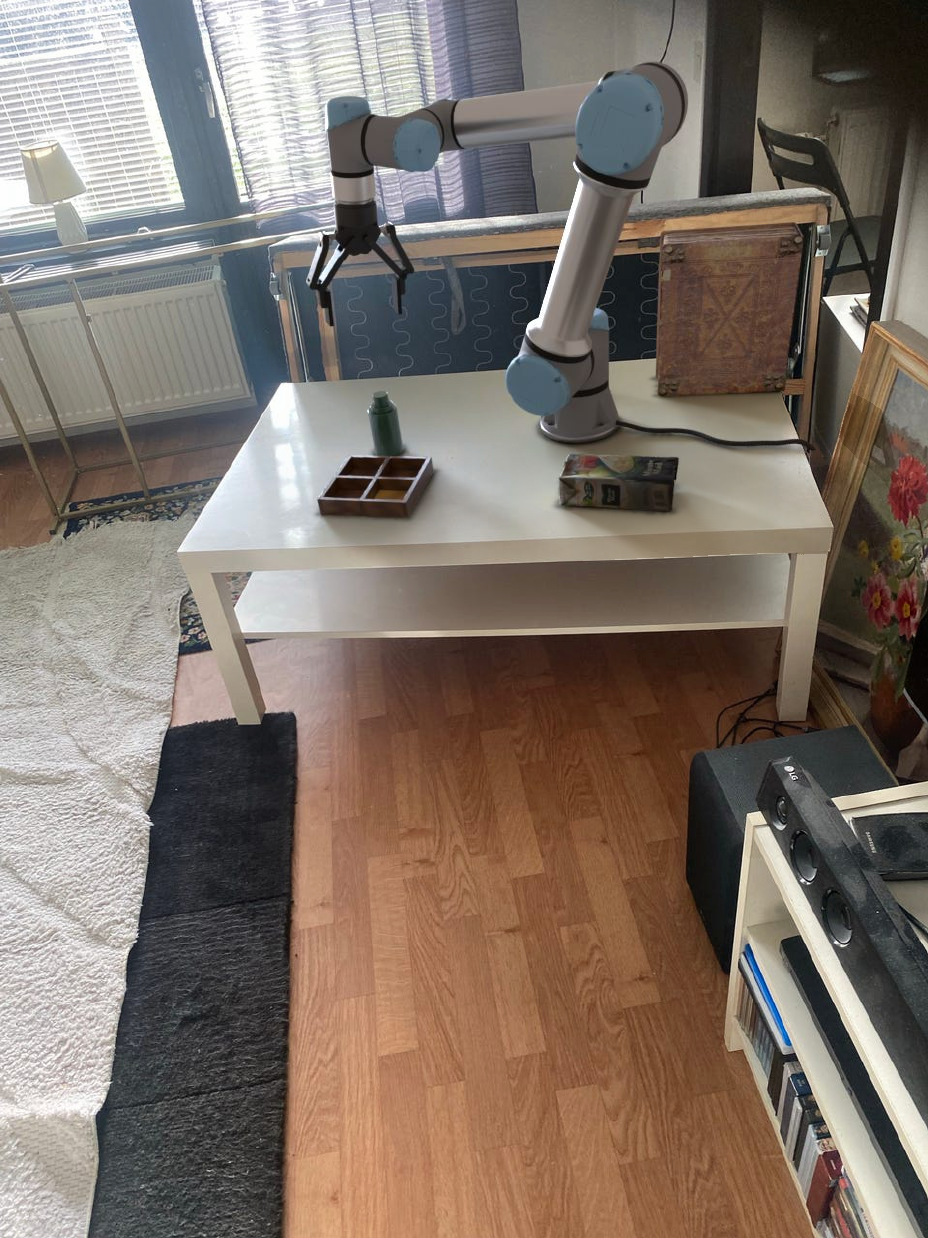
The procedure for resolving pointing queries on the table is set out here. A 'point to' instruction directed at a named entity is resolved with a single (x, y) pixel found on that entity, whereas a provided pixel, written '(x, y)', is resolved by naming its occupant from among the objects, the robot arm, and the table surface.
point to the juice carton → (618, 481)
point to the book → (726, 308)
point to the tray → (376, 486)
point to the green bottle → (385, 425)
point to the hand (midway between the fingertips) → (364, 317)
